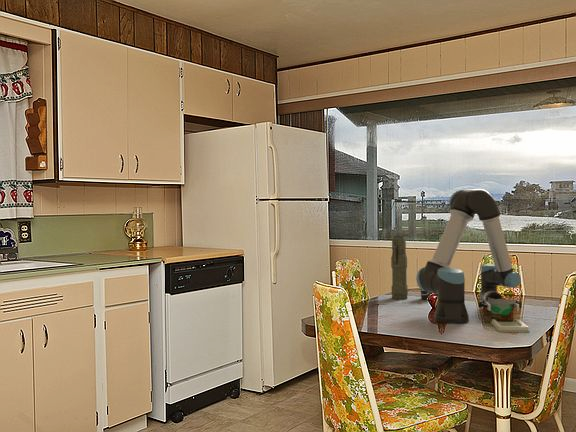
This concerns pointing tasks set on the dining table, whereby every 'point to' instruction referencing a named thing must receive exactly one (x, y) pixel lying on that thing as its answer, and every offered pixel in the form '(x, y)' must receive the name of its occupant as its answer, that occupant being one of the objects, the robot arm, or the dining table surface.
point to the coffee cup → (424, 294)
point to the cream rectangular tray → (510, 326)
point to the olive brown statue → (399, 268)
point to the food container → (502, 309)
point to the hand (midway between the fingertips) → (503, 307)
